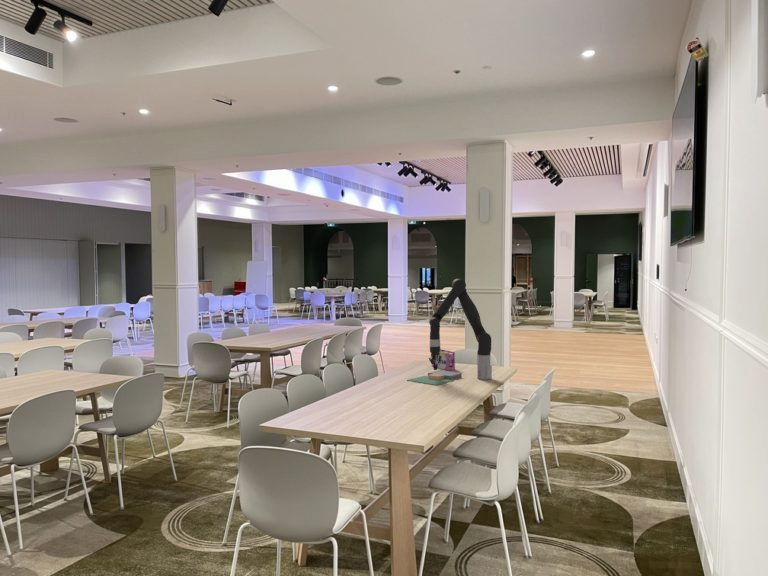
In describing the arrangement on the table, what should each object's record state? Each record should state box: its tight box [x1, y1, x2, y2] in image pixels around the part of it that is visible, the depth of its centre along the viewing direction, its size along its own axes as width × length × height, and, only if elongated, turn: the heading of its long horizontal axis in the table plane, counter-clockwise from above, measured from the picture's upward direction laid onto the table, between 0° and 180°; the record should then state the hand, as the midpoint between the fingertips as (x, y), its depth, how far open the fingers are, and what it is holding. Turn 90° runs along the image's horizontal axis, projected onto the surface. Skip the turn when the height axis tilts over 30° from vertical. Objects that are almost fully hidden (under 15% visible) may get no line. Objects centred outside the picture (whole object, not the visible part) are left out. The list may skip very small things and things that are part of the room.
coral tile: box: [427, 374, 444, 380], centre depth 405 cm, size 9×7×2 cm
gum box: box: [431, 348, 456, 371], centre depth 451 cm, size 24×8×14 cm, turn 27°
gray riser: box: [427, 369, 463, 380], centre depth 413 cm, size 20×14×3 cm
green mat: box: [406, 375, 455, 386], centre depth 400 cm, size 26×20×1 cm
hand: (435, 369), depth 404 cm, fingers closed
